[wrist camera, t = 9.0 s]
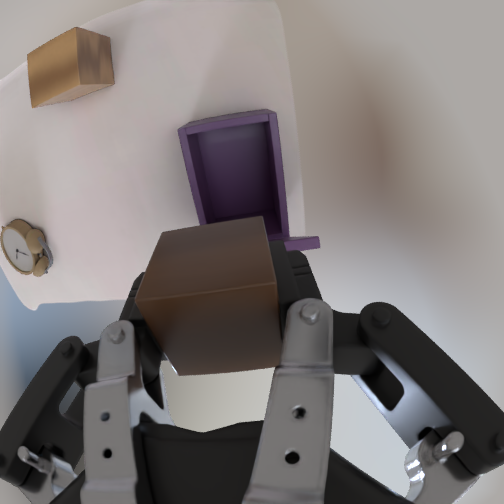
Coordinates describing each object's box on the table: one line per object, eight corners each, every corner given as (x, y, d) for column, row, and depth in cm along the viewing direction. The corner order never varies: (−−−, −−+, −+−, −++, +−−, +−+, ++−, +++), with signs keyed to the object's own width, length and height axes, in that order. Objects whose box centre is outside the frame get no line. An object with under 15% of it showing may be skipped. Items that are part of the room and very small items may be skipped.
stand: (66, 56, 25) (26, 54, 17) (110, 37, 25) (75, 26, 17) (70, 100, 29) (31, 108, 21) (114, 84, 29) (80, 84, 21)
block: (161, 231, 10) (132, 300, 7) (262, 214, 10) (276, 281, 7) (187, 304, 13) (177, 376, 9) (272, 293, 12) (285, 366, 9)
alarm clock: (-5, 221, 35) (37, 240, 35) (11, 211, 39) (54, 228, 40) (6, 266, 40) (47, 290, 41) (19, 255, 45) (61, 276, 45)
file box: (189, 122, 34) (177, 129, 27) (267, 108, 34) (276, 112, 26) (211, 221, 42) (206, 250, 35) (280, 211, 42) (289, 238, 35)
